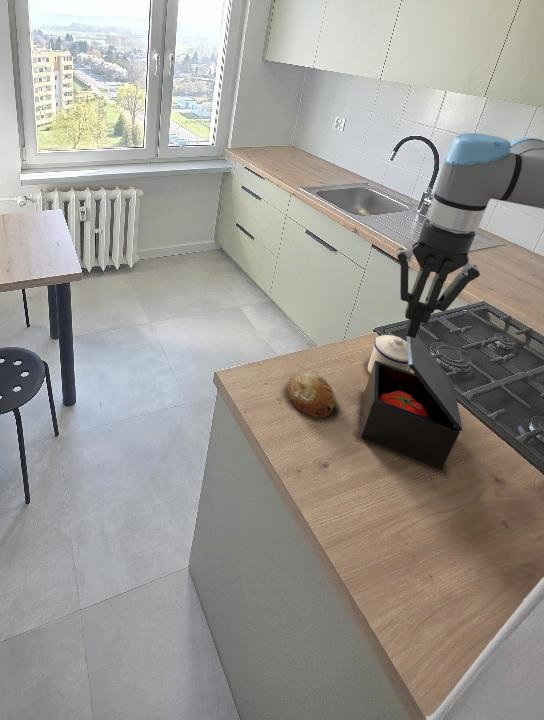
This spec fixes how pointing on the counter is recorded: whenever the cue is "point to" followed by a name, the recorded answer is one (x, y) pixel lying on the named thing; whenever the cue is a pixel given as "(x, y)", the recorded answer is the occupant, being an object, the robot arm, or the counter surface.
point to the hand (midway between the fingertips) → (410, 332)
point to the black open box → (406, 418)
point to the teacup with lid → (390, 352)
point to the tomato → (403, 402)
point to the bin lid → (433, 379)
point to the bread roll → (312, 395)
